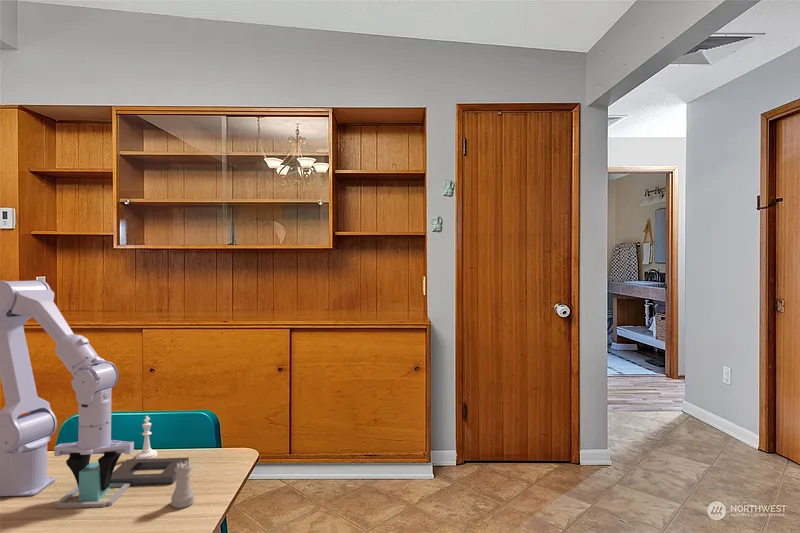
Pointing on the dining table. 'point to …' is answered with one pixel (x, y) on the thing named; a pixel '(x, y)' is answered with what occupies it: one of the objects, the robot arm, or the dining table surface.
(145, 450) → the chess piece
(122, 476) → the port block
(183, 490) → the rook chess piece
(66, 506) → the open picture frame
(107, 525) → the dining table surface
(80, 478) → the plug
